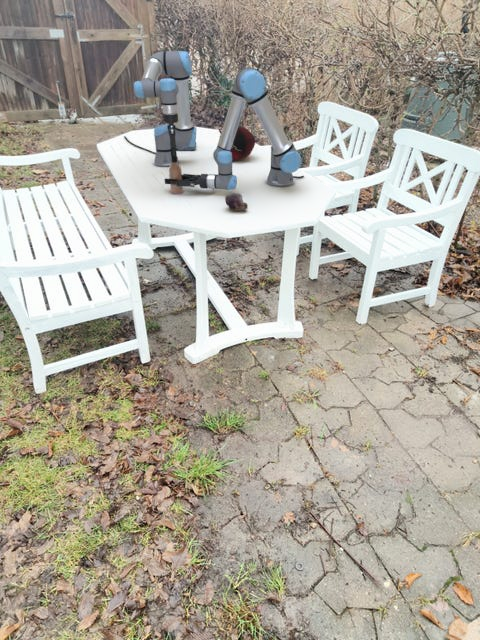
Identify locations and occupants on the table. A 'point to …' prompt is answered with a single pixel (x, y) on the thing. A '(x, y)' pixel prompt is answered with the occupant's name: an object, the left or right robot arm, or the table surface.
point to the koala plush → (186, 148)
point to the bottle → (175, 177)
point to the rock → (235, 202)
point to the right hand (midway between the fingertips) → (167, 179)
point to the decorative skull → (242, 144)
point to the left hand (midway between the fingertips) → (174, 161)
